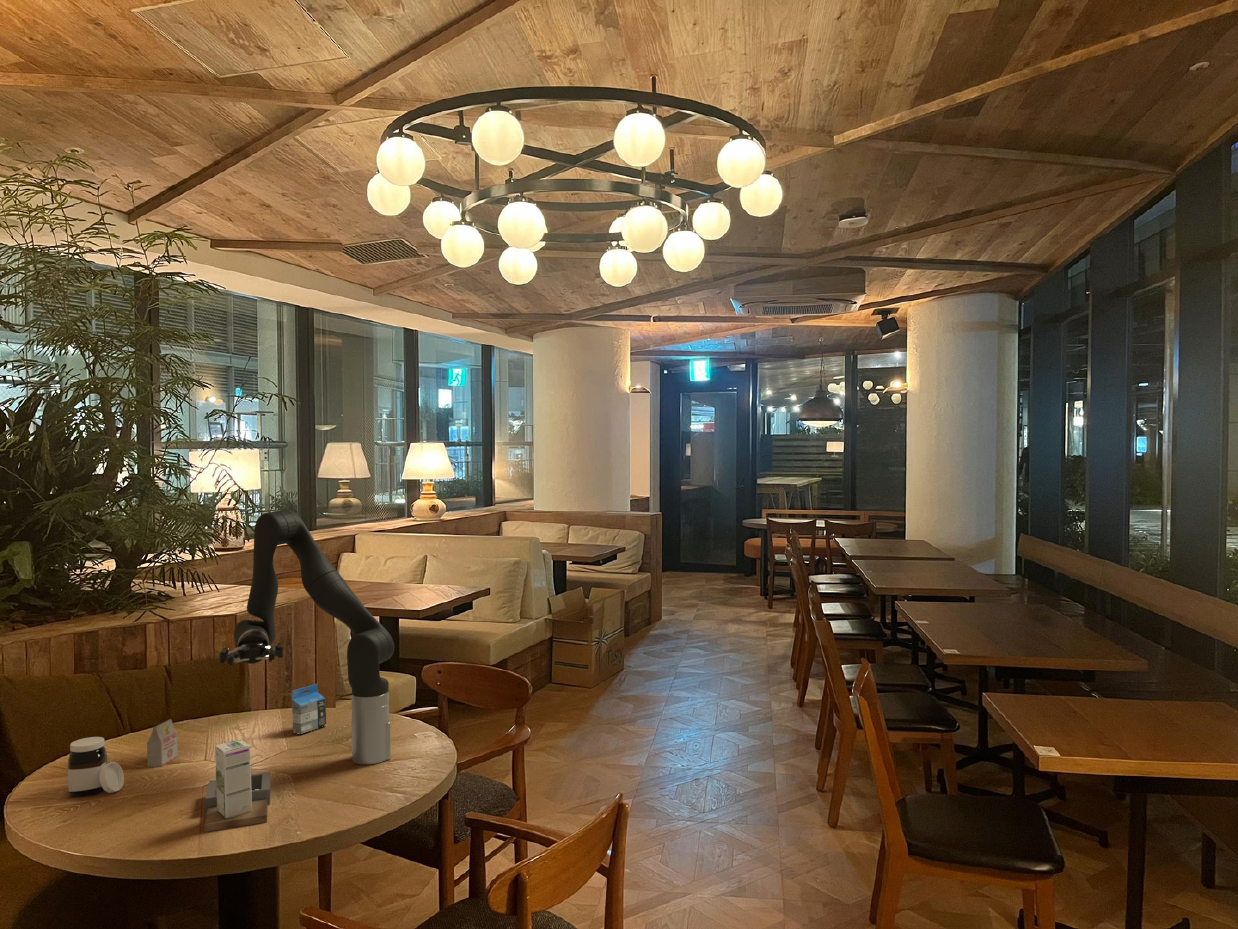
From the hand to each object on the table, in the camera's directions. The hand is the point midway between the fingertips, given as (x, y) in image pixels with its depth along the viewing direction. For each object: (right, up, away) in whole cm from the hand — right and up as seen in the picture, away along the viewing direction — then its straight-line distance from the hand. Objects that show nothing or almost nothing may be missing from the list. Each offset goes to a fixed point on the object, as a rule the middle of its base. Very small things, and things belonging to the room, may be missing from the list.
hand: (251, 659), depth 196 cm
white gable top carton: (-30, -31, +16) cm, 46 cm away
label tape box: (-1, -30, +40) cm, 50 cm away
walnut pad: (+5, -30, -19) cm, 36 cm away
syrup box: (+5, -29, -19) cm, 35 cm away
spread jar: (-35, -31, -3) cm, 47 cm away
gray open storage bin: (+1, -30, -9) cm, 31 cm away
